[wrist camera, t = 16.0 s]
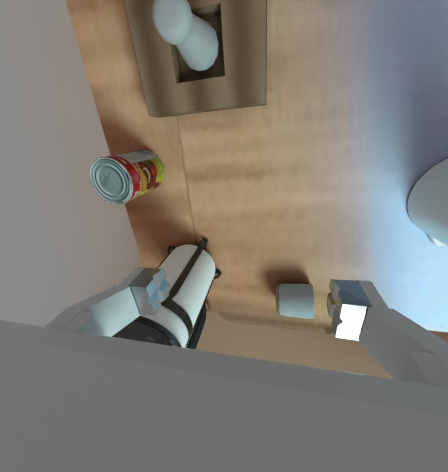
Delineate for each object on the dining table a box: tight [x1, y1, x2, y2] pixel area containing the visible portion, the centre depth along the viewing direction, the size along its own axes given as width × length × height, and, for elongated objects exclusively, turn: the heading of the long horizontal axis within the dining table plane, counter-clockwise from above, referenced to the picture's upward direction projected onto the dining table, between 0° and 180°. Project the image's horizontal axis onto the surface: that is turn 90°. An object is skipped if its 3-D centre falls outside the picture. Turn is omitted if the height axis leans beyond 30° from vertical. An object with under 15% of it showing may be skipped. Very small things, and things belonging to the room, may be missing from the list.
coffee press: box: [112, 238, 221, 349], centre depth 41 cm, size 17×16×30 cm
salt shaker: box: [153, 0, 219, 71], centre depth 27 cm, size 6×6×13 cm
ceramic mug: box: [276, 284, 315, 319], centre depth 49 cm, size 11×8×8 cm
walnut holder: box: [124, 0, 267, 117], centre depth 32 cm, size 20×16×4 cm
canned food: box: [90, 150, 165, 205], centre depth 40 cm, size 8×8×12 cm
